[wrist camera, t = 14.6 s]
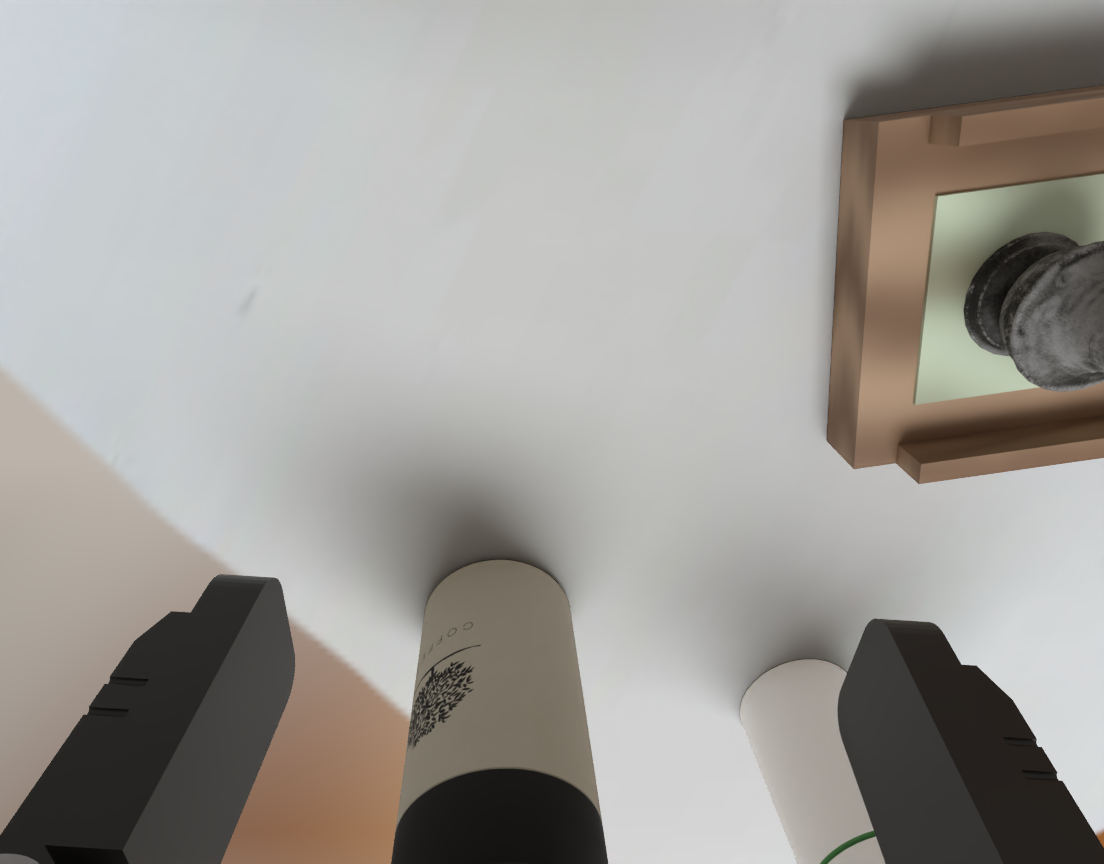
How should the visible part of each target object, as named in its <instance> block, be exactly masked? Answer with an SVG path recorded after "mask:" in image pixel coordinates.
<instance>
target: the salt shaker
mask: <svg viewBox="0 0 1104 864" xmlns="http://www.w3.org/2000/svg"><path fill="white" fill-rule="evenodd" d="M963 311H964V320H965V326H966V328H967V331H968V333H969V335H970V337H971V339H972V340H973V341H974V342H975V343H976V344H977V345H978V346H979V347H980V348H982V349H984V350H986V351H988V352H990V353H992V354H996V355H1002V356H1010V357H1011V358H1012V359H1013V361H1014V363H1015V365H1016V368H1017V370H1018V371H1019V372H1020V373H1021V374H1022V375H1023V376H1024V377H1025V378H1026V379H1027V380H1028V381H1029V382H1030V383H1033V384H1035V385H1037V386H1039V387H1041V388H1043V389H1045V390H1051V391H1058V392H1067V391H1075V390H1082V389H1085V388H1088V387H1091V386H1093V385H1096V384H1099V383H1102V382H1103V381H1104V241H1099V242H1094V243H1091V244H1088V245H1084V246H1079V245H1078V244H1077V243H1076V242H1075V241H1073V240H1072V239H1070V238H1068V237H1066V236H1064V235H1062V234H1056V233H1051V232H1039V233H1030V234H1027V235H1024V236H1022V237H1019V238H1016V239H1014V240H1012V241H1010V242H1009V243H1007V244H1005V245H1004V246H1002V247H1001V248H999V249H998V250H996V251H995V252H994V253H993V254H992V255H991V256H990V257H989V258H988V259H987V260H986V261H985V262H984V263H983V264H982V266H981V267H980V269H979V270H978V272H977V273H976V275H975V276H974V277H973V279H972V282H971V284H970V286H969V289H968V291H967V294H966V298H965V304H964V310H963Z"/></svg>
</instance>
